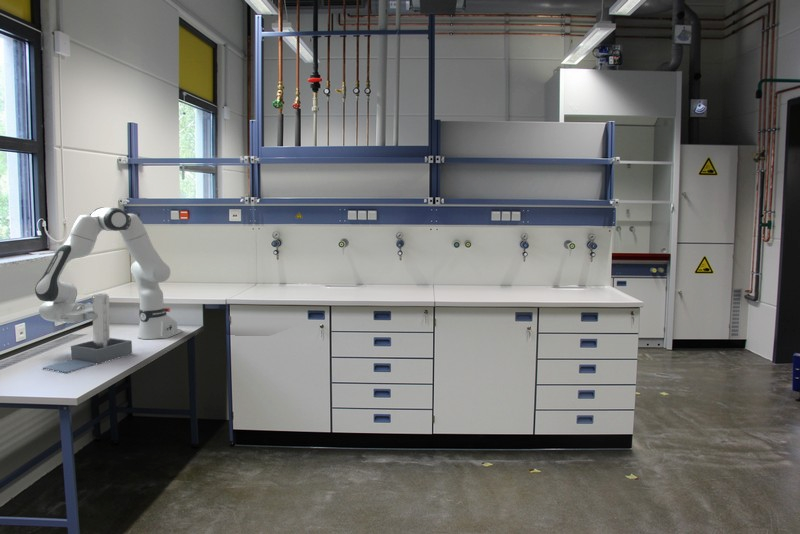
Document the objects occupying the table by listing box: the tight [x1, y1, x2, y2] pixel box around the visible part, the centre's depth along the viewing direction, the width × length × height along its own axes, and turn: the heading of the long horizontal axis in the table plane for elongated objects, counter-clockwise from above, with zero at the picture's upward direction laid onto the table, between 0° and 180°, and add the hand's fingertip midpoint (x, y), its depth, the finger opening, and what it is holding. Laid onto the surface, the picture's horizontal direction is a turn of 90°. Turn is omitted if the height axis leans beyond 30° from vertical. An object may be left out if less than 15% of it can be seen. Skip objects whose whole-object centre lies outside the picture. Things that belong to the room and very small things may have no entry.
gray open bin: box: [70, 337, 133, 365], centre depth 264 cm, size 18×16×6 cm
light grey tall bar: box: [91, 292, 111, 349], centre depth 262 cm, size 6×6×25 cm
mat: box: [42, 358, 97, 374], centre depth 248 cm, size 14×14×1 cm
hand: (102, 314), depth 262 cm, fingers closed on light grey tall bar, 5 cm apart
